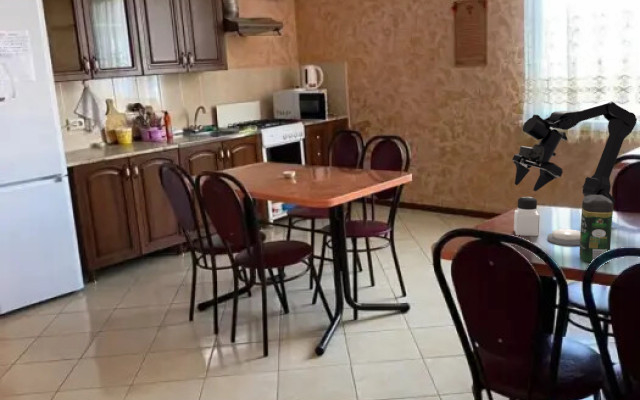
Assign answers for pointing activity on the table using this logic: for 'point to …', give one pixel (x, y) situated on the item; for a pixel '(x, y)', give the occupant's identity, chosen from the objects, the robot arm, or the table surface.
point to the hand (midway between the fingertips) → (524, 187)
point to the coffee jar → (595, 226)
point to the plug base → (571, 243)
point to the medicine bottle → (526, 217)
